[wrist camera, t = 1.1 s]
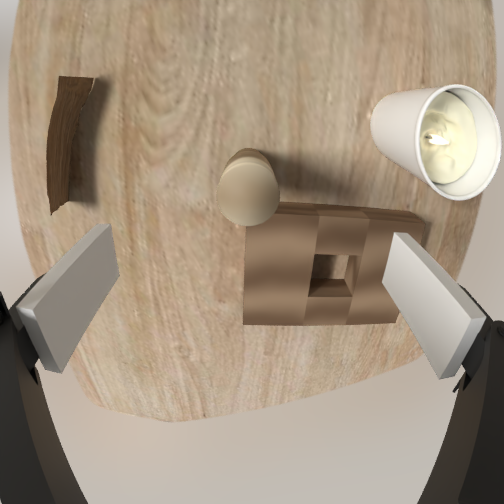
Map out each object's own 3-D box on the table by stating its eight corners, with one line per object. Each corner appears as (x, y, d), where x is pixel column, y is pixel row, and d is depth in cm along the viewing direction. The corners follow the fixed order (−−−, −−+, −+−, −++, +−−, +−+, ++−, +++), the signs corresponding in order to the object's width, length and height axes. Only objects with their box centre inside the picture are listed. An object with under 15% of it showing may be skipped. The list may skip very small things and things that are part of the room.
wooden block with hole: (247, 200, 34) (246, 212, 30) (410, 211, 34) (425, 223, 31) (243, 304, 40) (242, 324, 36) (385, 305, 41) (395, 322, 37)
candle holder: (388, 183, 33) (442, 222, 22) (346, 110, 29) (395, 115, 18) (447, 144, 30) (512, 168, 20) (412, 72, 27) (477, 67, 16)
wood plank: (77, 203, 33) (57, 217, 29) (64, 200, 33) (43, 214, 29) (94, 78, 27) (72, 76, 22) (79, 77, 27) (56, 75, 22)
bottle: (228, 143, 31) (216, 164, 20) (270, 145, 31) (282, 167, 20) (227, 183, 33) (216, 225, 22) (268, 185, 33) (277, 227, 22)
